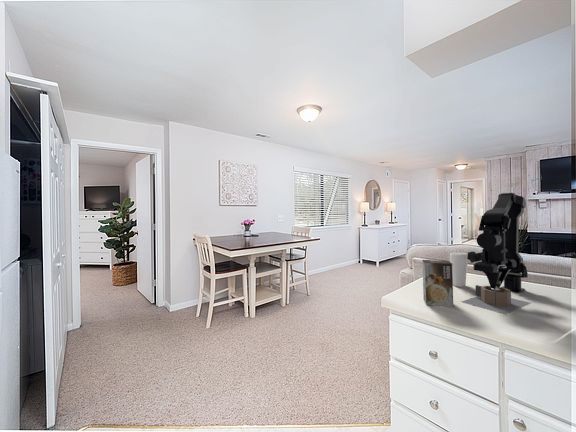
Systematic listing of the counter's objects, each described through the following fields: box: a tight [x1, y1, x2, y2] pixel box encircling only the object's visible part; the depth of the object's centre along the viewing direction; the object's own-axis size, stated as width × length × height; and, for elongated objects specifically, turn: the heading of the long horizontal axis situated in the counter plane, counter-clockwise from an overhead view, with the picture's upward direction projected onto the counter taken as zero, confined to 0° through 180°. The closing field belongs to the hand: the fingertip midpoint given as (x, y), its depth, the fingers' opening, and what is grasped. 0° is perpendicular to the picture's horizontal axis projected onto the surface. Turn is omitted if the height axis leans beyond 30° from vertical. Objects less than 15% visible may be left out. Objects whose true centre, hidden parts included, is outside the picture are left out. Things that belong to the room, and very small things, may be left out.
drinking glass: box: [449, 251, 468, 288], centre depth 119 cm, size 7×7×15 cm
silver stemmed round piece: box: [491, 280, 502, 292], centre depth 97 cm, size 5×5×8 cm
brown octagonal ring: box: [475, 284, 512, 307], centre depth 98 cm, size 8×11×5 cm
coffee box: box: [422, 259, 454, 308], centre depth 98 cm, size 9×6×16 cm
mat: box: [460, 295, 531, 315], centre depth 97 cm, size 20×14×1 cm
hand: (495, 287), depth 97 cm, fingers closed on silver stemmed round piece, 3 cm apart
